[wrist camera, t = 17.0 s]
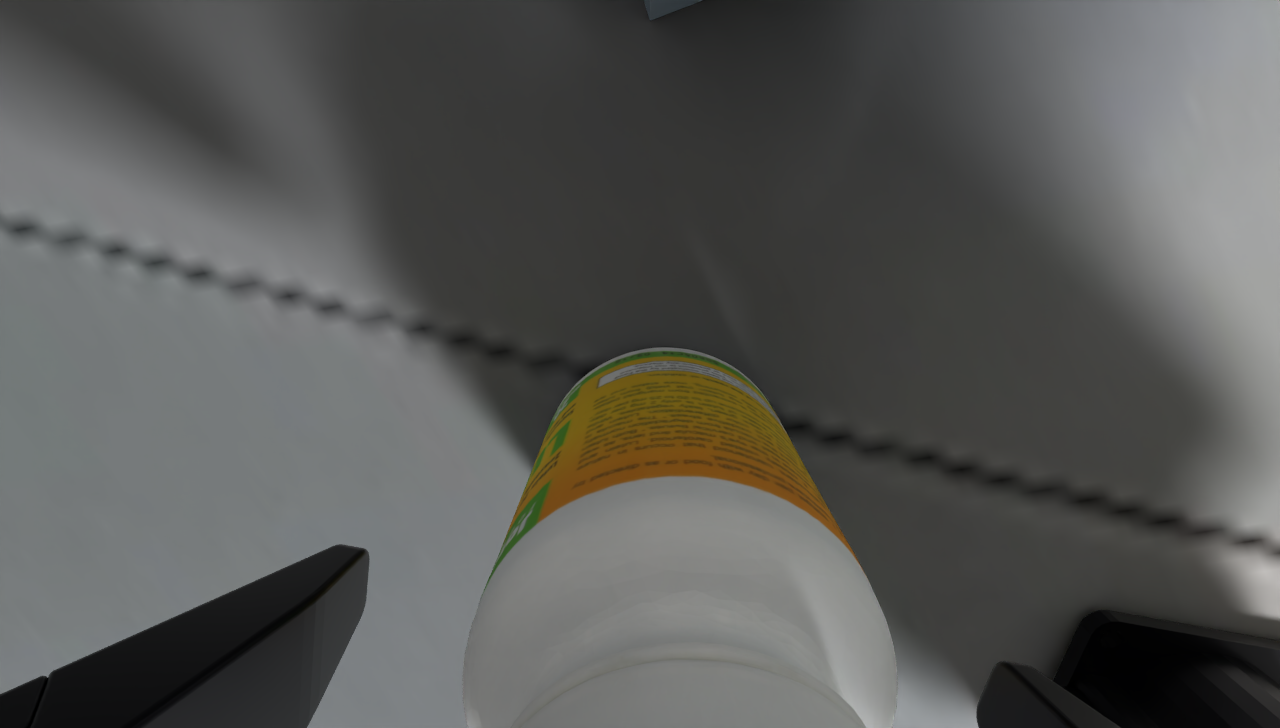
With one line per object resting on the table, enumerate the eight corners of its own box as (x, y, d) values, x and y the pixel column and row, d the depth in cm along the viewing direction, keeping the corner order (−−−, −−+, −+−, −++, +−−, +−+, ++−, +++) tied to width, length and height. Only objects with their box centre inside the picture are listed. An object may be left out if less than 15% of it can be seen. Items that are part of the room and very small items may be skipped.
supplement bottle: (545, 336, 14) (322, 676, 4) (794, 346, 14) (1119, 708, 4) (546, 554, 15) (384, 1162, 6) (769, 563, 15) (970, 1184, 6)
